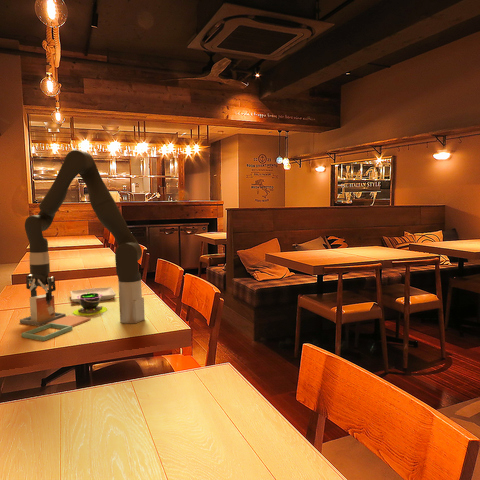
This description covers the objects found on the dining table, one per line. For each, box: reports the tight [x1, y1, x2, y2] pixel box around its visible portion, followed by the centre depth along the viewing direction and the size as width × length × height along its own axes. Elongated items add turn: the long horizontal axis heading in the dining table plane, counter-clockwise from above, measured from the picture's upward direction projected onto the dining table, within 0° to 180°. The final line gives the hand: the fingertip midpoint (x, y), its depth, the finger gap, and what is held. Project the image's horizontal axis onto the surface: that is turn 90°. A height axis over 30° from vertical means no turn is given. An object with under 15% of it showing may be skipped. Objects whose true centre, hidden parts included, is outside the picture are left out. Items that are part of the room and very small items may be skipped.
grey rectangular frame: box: [19, 311, 67, 327], centre depth 172 cm, size 11×13×2 cm
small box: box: [29, 293, 56, 322], centre depth 171 cm, size 8×6×10 cm
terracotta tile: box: [47, 314, 92, 328], centre depth 168 cm, size 12×12×1 cm
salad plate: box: [69, 286, 117, 304], centre depth 209 cm, size 21×21×3 cm
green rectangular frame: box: [21, 323, 73, 342], centre depth 154 cm, size 11×13×2 cm
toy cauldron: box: [72, 288, 108, 317], centre depth 185 cm, size 15×15×11 cm
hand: (41, 300), depth 171 cm, fingers open, 8 cm apart
